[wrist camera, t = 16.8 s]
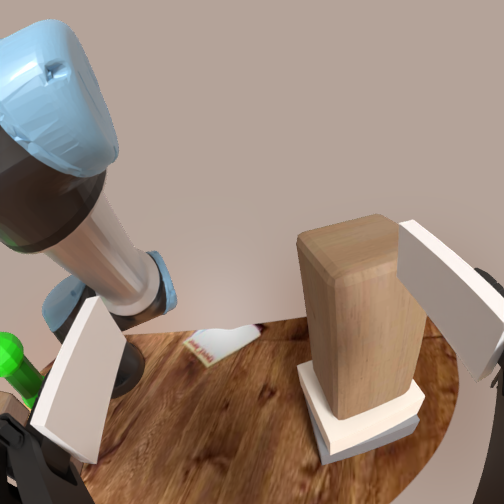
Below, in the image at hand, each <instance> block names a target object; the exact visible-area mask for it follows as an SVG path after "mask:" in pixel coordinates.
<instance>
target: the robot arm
mask: <svg viewBox="0 0 504 504" xmlns="http://www.w3.org/2000/svg"><path fill="white" fill-rule="evenodd" d="M118 153H119V147H118V141H117V136H116V133H115V130H114V126H113V123H112V120H111V117H110V114H109V111H108V108H107V106H106V103H105V101H104V99H103V96H102V94H101V92H100V88H99V85H98V82H97V79H96V77H95V75H94V72H93V70H92V68H91V65H90V63H89V61H88V58H87V56H86V54H85V52H84V50H83V48H82V46H81V44H80V42H79V40H78V38H77V37H76V35H75V33H74V32H73V31H72V30H71V28H70V27H69V26H68V25H67V24H65V23H63V22H61V21H59V20H53V19H48V20H42V21H39V22H36V23H34V24H32V25H30V26H28V27H26V28H24V29H22V30H20V31H18V32H16V33H14V34H12V35H10V36H8V37H6V38H3V39H0V241H1V242H2V243H3V244H5V245H6V246H7V247H9V248H10V249H12V250H14V251H16V252H18V253H22V254H37V253H44V254H46V255H47V256H48V257H50V258H51V259H52V260H53V261H55V262H56V263H57V264H59V265H60V266H61V267H63V268H64V269H65V270H66V271H68V272H69V273H71V274H72V275H70V276H69V277H67V278H65V279H64V280H63V281H61V282H60V283H59V284H58V285H57V286H56V287H55V288H54V289H53V290H52V291H51V292H50V293H49V294H48V296H47V297H46V299H45V301H44V303H43V306H42V315H43V317H44V319H45V321H46V323H47V324H48V326H49V328H50V330H51V331H52V332H53V333H54V335H55V336H56V337H57V339H58V340H59V341H60V343H61V344H62V347H61V349H60V351H59V353H58V355H57V358H56V360H55V362H54V364H53V367H52V368H51V369H50V370H49V372H48V373H47V374H46V376H45V377H44V380H43V382H42V384H41V389H39V392H38V394H37V395H38V397H36V399H35V402H34V404H33V407H32V410H31V412H30V415H29V418H28V421H27V424H26V426H25V427H24V426H23V425H22V424H20V423H19V422H18V421H17V420H16V419H15V418H14V417H12V416H11V415H10V414H9V413H3V414H1V415H0V504H95V503H94V501H93V499H92V497H91V496H90V494H89V492H88V490H87V488H86V486H85V484H84V482H83V481H82V479H81V477H80V474H79V472H78V470H77V468H76V466H75V465H74V463H73V462H71V461H70V458H71V455H72V456H73V457H75V458H76V459H78V460H79V461H81V462H85V463H91V464H97V459H98V453H99V448H100V443H101V438H102V433H103V428H104V424H105V419H106V415H107V410H108V406H109V402H110V399H112V398H117V397H119V396H122V395H124V394H125V393H127V392H128V391H130V390H131V389H132V388H133V387H134V386H135V385H136V384H137V383H138V381H139V380H140V378H141V376H142V374H143V372H144V367H145V362H144V358H143V356H142V355H141V353H140V352H139V350H138V349H137V348H136V347H135V346H134V345H133V344H131V343H129V342H128V341H127V340H126V338H125V337H124V335H123V334H122V331H125V330H127V329H130V328H132V327H134V326H137V325H139V324H141V323H144V322H146V321H149V320H151V319H153V318H155V317H158V316H160V315H165V314H166V313H167V312H168V311H170V310H172V309H174V308H175V307H176V305H177V297H176V293H175V290H174V287H173V283H172V280H171V277H170V275H169V272H168V270H167V267H166V265H165V263H164V261H163V259H162V257H161V255H160V254H159V253H158V252H157V251H151V252H143V251H141V250H139V249H136V248H135V247H134V245H133V244H132V242H131V240H130V239H129V237H128V235H127V233H126V232H125V230H124V228H123V226H122V225H121V223H120V221H119V220H118V218H117V216H116V214H115V212H114V210H113V209H112V207H111V205H110V203H109V201H108V200H107V198H106V196H105V194H104V192H103V191H104V187H105V184H106V178H107V167H108V165H110V164H111V163H113V162H114V161H115V160H116V158H117V157H118ZM396 277H397V278H398V279H399V280H400V281H401V283H402V284H403V285H404V286H405V287H406V289H407V290H408V291H409V292H410V293H411V295H412V296H413V297H414V298H415V300H416V301H417V302H418V303H419V305H420V306H421V307H422V308H423V310H424V311H425V312H426V313H427V315H428V316H429V317H430V319H431V320H432V321H433V323H434V324H435V325H436V326H437V328H438V329H439V330H440V332H441V333H442V334H443V336H444V337H445V339H446V340H447V341H448V343H449V344H450V345H451V347H452V348H453V350H454V351H455V352H456V354H457V355H458V357H459V358H460V360H461V361H462V362H463V364H464V365H465V367H466V368H467V370H468V371H469V373H470V374H471V376H472V377H473V379H474V381H475V382H476V383H477V382H479V381H480V380H482V379H483V378H485V377H486V376H488V375H489V374H490V373H491V372H492V371H493V369H494V367H495V366H496V364H497V363H498V364H499V365H500V366H501V369H500V370H499V372H498V373H497V375H496V377H495V378H494V380H493V381H492V384H491V388H493V387H494V385H495V384H496V382H497V381H498V386H497V399H496V407H495V415H494V421H493V428H492V433H491V438H490V443H489V448H488V453H487V458H486V461H485V465H484V469H483V473H482V476H481V480H480V483H479V486H478V489H477V492H476V495H475V498H474V501H473V504H504V288H503V287H502V286H501V285H500V284H499V283H497V281H496V280H495V279H494V278H493V277H492V276H490V275H489V274H488V273H487V272H485V271H483V270H481V269H479V268H475V269H473V268H471V266H469V265H468V264H467V263H466V262H465V261H464V260H462V259H461V258H460V257H459V256H458V255H457V254H455V253H454V252H453V251H452V250H451V249H450V248H448V247H447V246H446V245H445V244H444V243H442V242H441V241H440V240H439V239H437V238H436V237H435V236H434V235H432V234H431V233H430V232H429V231H427V230H426V229H425V228H423V227H422V226H421V225H419V224H418V223H416V221H414V220H410V221H406V222H402V223H399V240H398V261H397V276H396ZM7 476H8V477H10V478H12V479H13V480H15V481H16V483H17V487H15V486H13V485H12V484H9V483H8V482H7Z"/></svg>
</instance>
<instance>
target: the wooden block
mask: <svg viewBox="0 0 504 504" xmlns="http://www.w3.org/2000/svg"><path fill="white" fill-rule="evenodd" d="M398 240H399V224H397V223H395V222H393V221H392V220H390V219H388V218H386V217H384V216H382V215H379V214H374V215H369V216H365V217H361V218H357V219H354V220H349V221H345V222H341V223H337V224H333V225H329V226H325V227H321V228H317V229H313V230H309V231H305V232H302V233H301V234H299V235H298V238H297V243H296V245H297V251H298V257H299V264H300V271H301V277H302V284H303V292H304V299H305V306H306V313H307V321H308V329H309V337H310V345H311V354H312V363H313V370H314V372H315V374H316V377H317V379H318V381H319V383H320V386H321V388H322V390H323V393H324V395H325V397H326V400H327V402H328V404H329V406H330V409H331V411H332V413H333V416H335V417H336V418H337V419H338V420H345V419H348V418H350V417H353V416H356V415H358V414H361V413H363V412H366V411H368V410H370V409H373V408H375V407H377V406H380V405H382V404H384V403H387V402H389V401H391V400H393V399H395V398H397V397H399V396H402V395H404V394H405V393H406V392H407V391H408V390H409V389H410V385H411V382H412V378H413V375H414V371H415V367H416V363H417V359H418V355H419V351H420V347H421V342H422V338H423V333H424V328H425V322H426V317H427V313H426V312H425V311H424V310H423V308H422V307H421V306H420V305H419V303H418V302H417V301H416V300H415V298H414V297H413V296H412V295H411V293H410V292H409V291H408V290H407V289H406V287H405V286H404V285H403V284H402V283H401V281H400V280H399V279H398V278H397V277H396V276H397V261H398Z"/></svg>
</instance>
